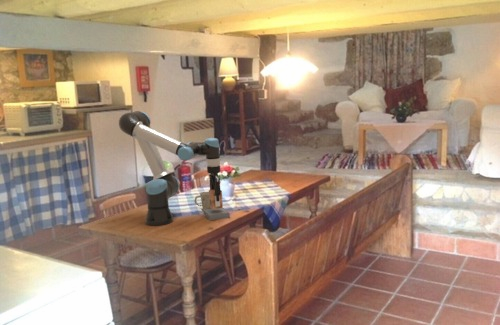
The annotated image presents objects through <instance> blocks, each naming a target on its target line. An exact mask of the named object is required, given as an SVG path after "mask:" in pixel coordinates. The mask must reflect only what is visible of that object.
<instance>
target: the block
mask: <svg viewBox="0 0 500 325" xmlns="http://www.w3.org/2000/svg"><path fill="white" fill-rule="evenodd" d="M208 191H209V202H210V207H211V208H212V209H218V208H224V207H223V192H222V190H221V189H220V191H221V195H220V206H218V207H215V196H214V195H215V190H214V189H213V190H210V189H208Z"/></svg>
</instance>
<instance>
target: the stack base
mask: <svg viewBox="0 0 500 325" xmlns="http://www.w3.org/2000/svg"><path fill="white" fill-rule="evenodd" d="M230 214H231V213H230V211H229V210H227V208H225V207H223V208H218V209H209V210H203V216H204V217H205V218H206V219H207V220H208V221H215V220H222V219H228V218H230Z"/></svg>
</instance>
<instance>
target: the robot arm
mask: <svg viewBox="0 0 500 325" xmlns="http://www.w3.org/2000/svg"><path fill="white" fill-rule="evenodd" d="M118 127H119V129H120V130H121V131H122V133H124V134H125V135H128V136H130V137H132V138H133V139H135V140H136V141H137V143H138V146H139V148H140V150H141V151H142V153H143V157H144V158H145V160H146V162H147V164H148V166H149V169H150V172H151V173H152V175H153V179H152V180H150V181H148V182H146V185H145V192H146V202H147V212H146V216H145V224H146V225H148V226H164V225H169V224H170V223H173V221H174V219H173V218H174V216H173V214H172V211H171V209H170V207H169V199H170V198H172V197H175V195H177V193H178V192H179V190H180V184H181V183H180V181H179V179H178V178H177V177H175V176H174V175H173V173H172V172H171V171H169V170H168V169H167V167H166V164H165V162H164V160H163V157H162V155H161V154H160V152H159V149H158V148H161V149H162V150H165V151H167V152H170V153H171V154H173V155H175V156H178V158H179V159H180V160H181V161H190V160H192V159H193V158H196V157H198V156H206V158H205V159H206V169H207V170H206V172H207V174H208V177H209V178H208V179H209V190H213V189H214V190H215V195H214V196H215V207H218V206H220V195H221V191H222V190H221V181H220V180H221V178H220V177H219V174H218V173H220V172H221V165H220V164H221V158H220V144H219V143H220V142H219V139H218V138H216V137H212V138H210V137H209V138H205V139H204V140H205V141H204V142H201V141H200V142H199V141H198V142H196V141H195V142H194V141H192V142H191V141H190V142H186V143H184V142H182V141H180V140H178V139H176V138H173V137H172V136H169V135H167V134H165V133H162V132H160V131H158V130H156V129H154V128H152V127H151V118H150V116H149V115H148V113H146V112H144V111H141V110H137V111H132V112H126V113H124V114H122V115H121V116H120V117H119V120H118ZM220 190H221V191H220Z"/></svg>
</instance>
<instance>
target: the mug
mask: <svg viewBox="0 0 500 325" xmlns="http://www.w3.org/2000/svg"><path fill="white" fill-rule="evenodd" d="M199 198H200V200H201V201H200V202H201V204H199V203H198V202H197V201H198V199H199ZM194 203H195V205H196V206H198V207H202V210H203V211H204V210H209V209H212V208H211V207H210V202H209V190H208V191H202V192H200V193H199V195H196V196H195V197H194Z"/></svg>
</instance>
